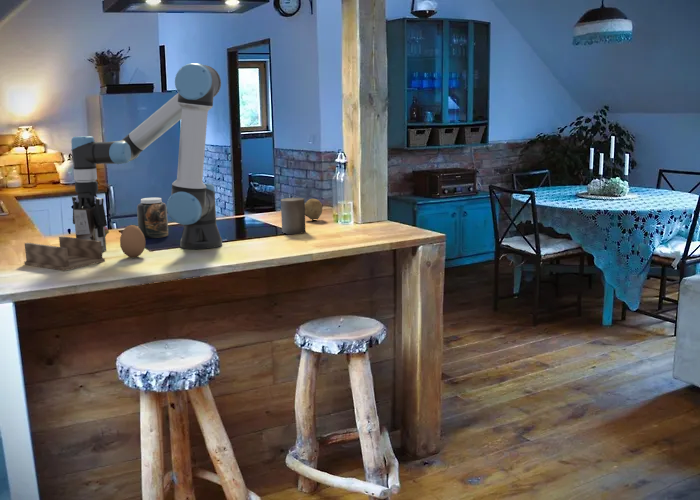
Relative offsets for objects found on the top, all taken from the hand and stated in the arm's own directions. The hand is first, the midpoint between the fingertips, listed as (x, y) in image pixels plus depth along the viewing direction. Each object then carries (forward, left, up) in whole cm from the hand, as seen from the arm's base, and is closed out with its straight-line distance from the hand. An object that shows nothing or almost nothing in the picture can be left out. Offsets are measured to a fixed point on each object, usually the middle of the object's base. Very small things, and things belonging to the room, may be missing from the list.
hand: (91, 245), depth 251 cm
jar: (+6, -35, -3) cm, 36 cm away
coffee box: (0, 0, -3) cm, 3 cm away
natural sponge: (-30, -96, -3) cm, 101 cm away
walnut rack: (-6, +16, -3) cm, 17 cm away
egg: (-20, -1, -3) cm, 20 cm away
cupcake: (+14, -14, -3) cm, 20 cm away
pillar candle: (-40, -67, -3) cm, 78 cm away
